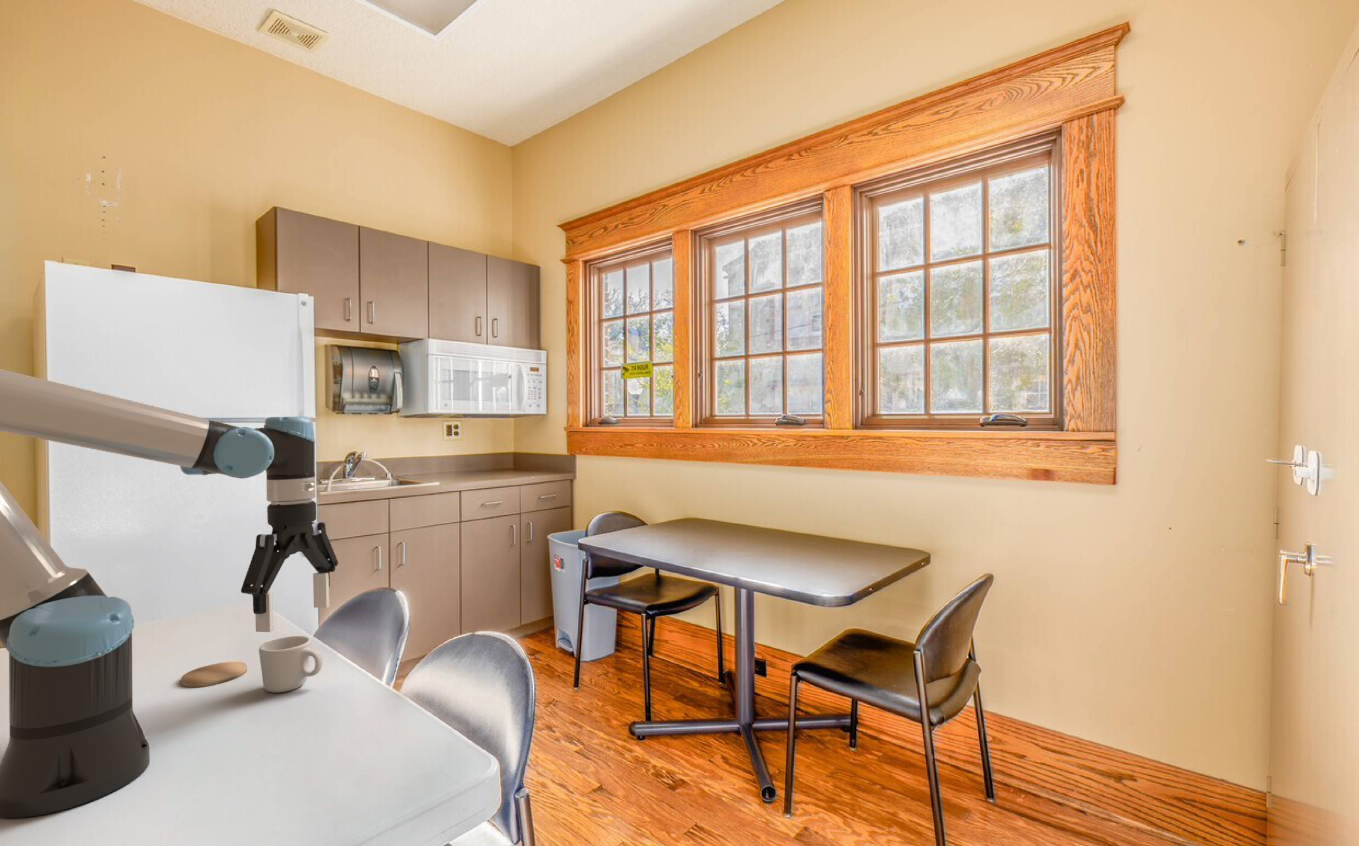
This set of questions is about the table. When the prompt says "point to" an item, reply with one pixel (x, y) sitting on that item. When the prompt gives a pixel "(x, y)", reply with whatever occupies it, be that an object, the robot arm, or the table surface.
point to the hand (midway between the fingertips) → (294, 618)
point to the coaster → (213, 674)
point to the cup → (287, 663)
